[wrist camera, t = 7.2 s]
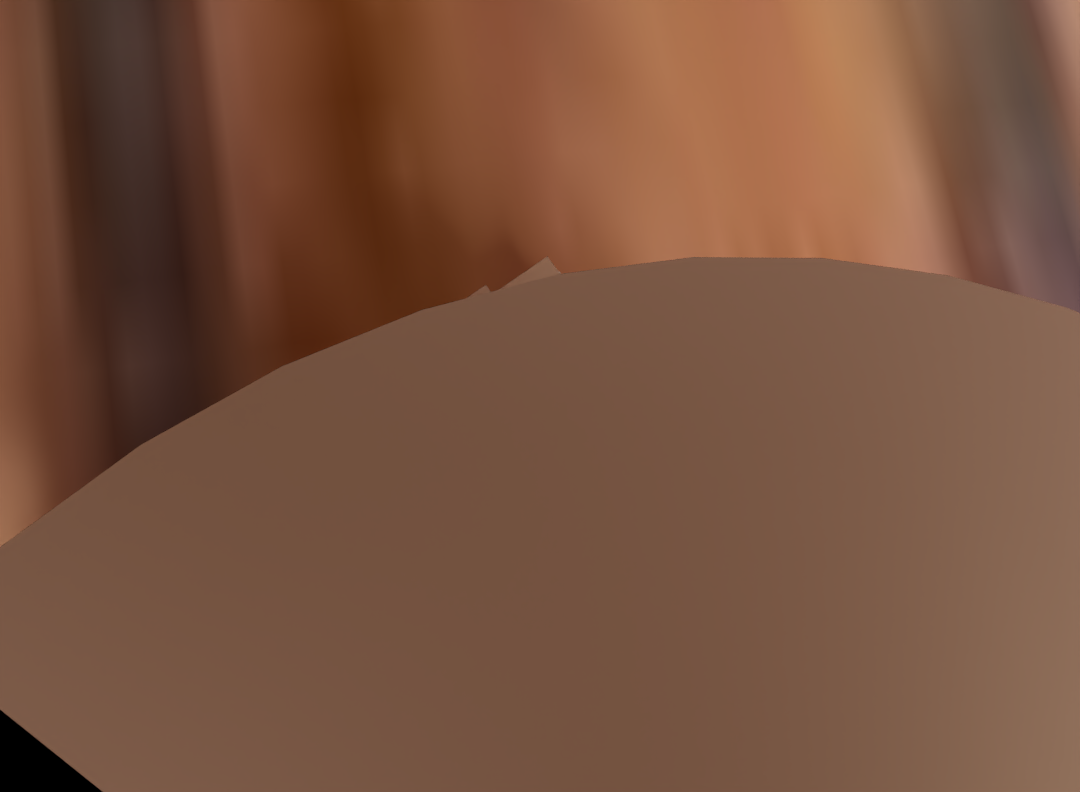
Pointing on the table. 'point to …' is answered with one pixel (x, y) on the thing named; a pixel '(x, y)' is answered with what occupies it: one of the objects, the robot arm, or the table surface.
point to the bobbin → (585, 553)
